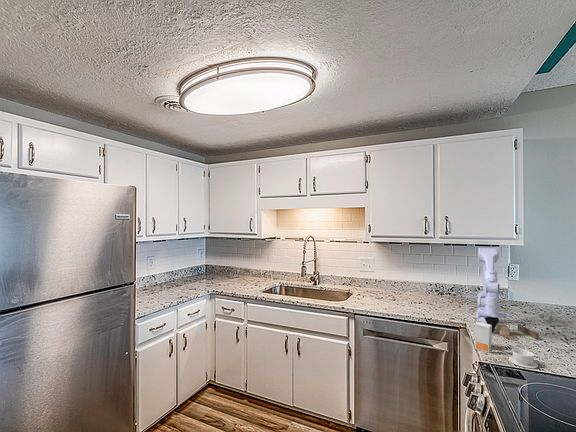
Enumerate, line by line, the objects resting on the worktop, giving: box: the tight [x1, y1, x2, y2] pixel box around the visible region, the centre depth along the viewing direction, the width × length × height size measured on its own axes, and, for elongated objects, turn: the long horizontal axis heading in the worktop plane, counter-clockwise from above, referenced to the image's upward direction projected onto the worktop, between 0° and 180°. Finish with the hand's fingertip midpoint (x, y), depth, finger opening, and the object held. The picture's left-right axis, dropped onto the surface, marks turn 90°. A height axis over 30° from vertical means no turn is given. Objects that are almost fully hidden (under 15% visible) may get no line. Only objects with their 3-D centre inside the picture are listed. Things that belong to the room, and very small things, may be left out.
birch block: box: [495, 323, 510, 336], centre depth 160 cm, size 4×4×4 cm
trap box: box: [493, 323, 539, 341], centre depth 160 cm, size 14×15×4 cm
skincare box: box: [474, 321, 493, 354], centre depth 143 cm, size 6×4×12 cm
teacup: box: [508, 348, 539, 369], centre depth 131 cm, size 10×10×5 cm
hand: (491, 331), depth 161 cm, fingers closed
